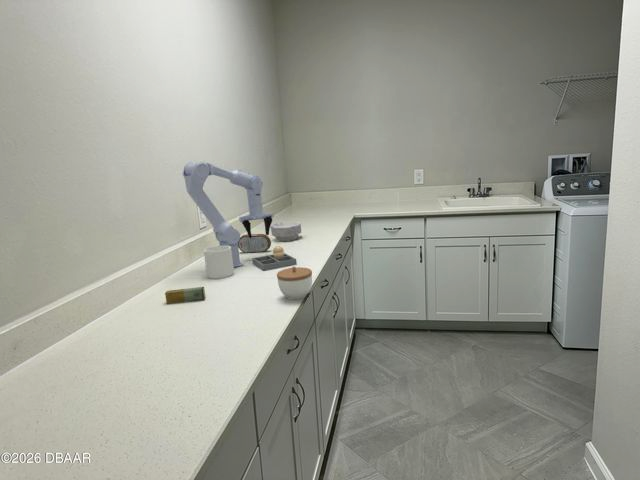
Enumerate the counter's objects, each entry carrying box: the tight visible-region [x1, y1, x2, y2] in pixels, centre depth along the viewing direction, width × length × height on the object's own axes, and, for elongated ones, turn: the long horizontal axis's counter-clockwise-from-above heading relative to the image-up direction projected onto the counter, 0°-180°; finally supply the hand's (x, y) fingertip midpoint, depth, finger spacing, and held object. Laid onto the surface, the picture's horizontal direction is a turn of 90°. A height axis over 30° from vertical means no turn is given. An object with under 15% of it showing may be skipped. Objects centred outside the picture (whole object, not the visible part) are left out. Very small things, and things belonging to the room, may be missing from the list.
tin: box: [238, 233, 272, 254], centre depth 194 cm, size 15×3×8 cm, turn 84°
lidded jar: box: [276, 266, 313, 301], centre depth 131 cm, size 11×11×9 cm
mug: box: [203, 245, 235, 280], centre depth 162 cm, size 13×10×10 cm
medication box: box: [164, 286, 207, 305], centre depth 135 cm, size 12×3×4 cm, turn 95°
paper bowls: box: [270, 221, 302, 242], centre depth 217 cm, size 15×15×8 cm
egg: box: [272, 245, 285, 258], centre depth 175 cm, size 4×4×6 cm
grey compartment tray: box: [251, 252, 298, 272], centre depth 171 cm, size 14×14×2 cm
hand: (258, 236), depth 181 cm, fingers open, 7 cm apart
